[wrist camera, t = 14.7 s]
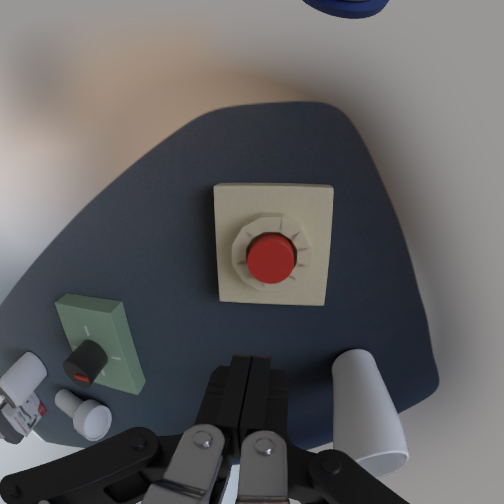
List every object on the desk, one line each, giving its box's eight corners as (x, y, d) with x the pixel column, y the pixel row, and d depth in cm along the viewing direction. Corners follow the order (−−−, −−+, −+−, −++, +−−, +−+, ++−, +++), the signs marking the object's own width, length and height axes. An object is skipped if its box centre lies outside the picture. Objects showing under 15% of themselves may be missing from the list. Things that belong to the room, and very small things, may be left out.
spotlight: (116, 428, 42) (91, 449, 34) (79, 404, 45) (54, 420, 37) (109, 399, 40) (80, 420, 33) (71, 375, 43) (43, 391, 36)
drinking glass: (325, 384, 32) (332, 487, 18) (324, 345, 30) (338, 460, 16) (375, 377, 31) (400, 474, 17) (381, 337, 29) (419, 443, 15)
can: (52, 377, 42) (22, 413, 31) (37, 373, 43) (8, 405, 32) (37, 351, 40) (2, 387, 28) (22, 349, 41) (-10, 381, 30)
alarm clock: (14, 393, 52) (-11, 423, 38) (38, 419, 55) (16, 450, 41) (5, 397, 57) (-16, 423, 43) (27, 420, 60) (7, 447, 45)
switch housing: (219, 183, 25) (207, 188, 22) (329, 184, 24) (337, 190, 20) (224, 290, 29) (215, 311, 25) (321, 294, 28) (325, 315, 24)
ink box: (47, 411, 50) (27, 439, 39) (36, 405, 50) (16, 431, 39) (33, 389, 47) (10, 418, 36) (23, 383, 47) (0, 410, 36)
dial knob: (89, 362, 33) (70, 385, 28) (77, 337, 31) (56, 359, 26) (112, 367, 32) (94, 393, 27) (101, 341, 30) (80, 366, 26)
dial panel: (67, 292, 33) (53, 303, 30) (122, 301, 31) (109, 314, 28) (94, 368, 37) (85, 380, 34) (146, 381, 36) (138, 396, 33)
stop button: (249, 233, 23) (246, 239, 21) (294, 234, 22) (294, 241, 21) (250, 274, 24) (247, 283, 22) (292, 275, 24) (292, 285, 22)
